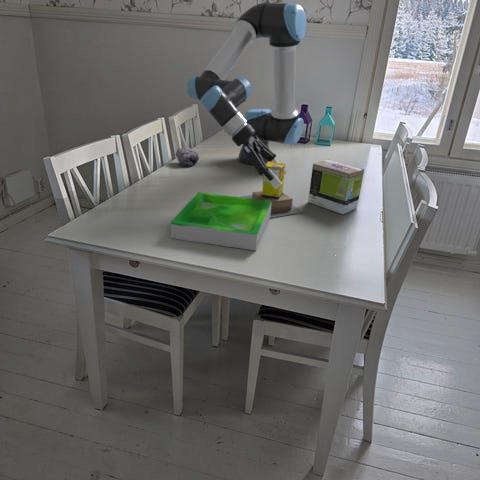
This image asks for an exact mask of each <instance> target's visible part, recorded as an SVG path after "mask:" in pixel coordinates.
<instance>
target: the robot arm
mask: <svg viewBox="0 0 480 480" xmlns="http://www.w3.org/2000/svg"><path fill="white" fill-rule="evenodd" d="M232 27H233V28H232V29H233V30H232V32H231V33H230V34H229V35H228V37H227V39H225V41H224V42H223V43H222V46H220V48H219V49H218V51H217V52H216V53H215V55H214V56H213V58H212V59H211V60H210V62H209V63H208V64H207V66H206V67H205V69H203V72H202V73H200V75H199V76H198V75H196V76H191V77H190V78H189V79H188V80H187V83H186V92H187V94H188V96H189V98H190V99H194V100H197V101H200V103H201V104H202V106H203V107H204V108H205V110H206V111H207V112H208V113H209V114H210V116H211V117H213V119H214V120H215V121H216V122H217V124H219V126H220V127H221V128H222V129H223V132H224V133H226V134H227V135H228V136H229V137H231V140H232V141H233V143H234V144H235V145H236V146H237V147H241V148H240V150H239V153H238V161H239V162H240V163H242V164H245V165H248V166H249V165H250V166H253V167H254V168H255V170H256V172H257V173H258V175H259V176H263V177H264V176H265V178H266V179H267V180H268V181H269V182H270V183H271V185H272V186H273V187H274V188H275V189H277V188H278V187H280V186H281V185H282V183H281V182H280V180H279V179H278V178H277V177H276V176H275V174H274V173H273V172H272V171H271V170H270V168H269V169H268V168H267V166H266V164H267V163H268V162H269V161H270V162H277V163H280V162H279V161H278V159H276V157H277V154H275V153H274V152H273V151H272V150H271V149H270V146H269V142H272V143H273V142H274V143H277V144H278V143H279V144H283V145H285V146H286V145H290V146H294V145H296V144H297V142H299V140H300V138H301V136H302V134H303V131H304V125H305V121H304V119H303V118H302V117H299V113H300V112H299V110H298V109H297V108H296V77H297V74H296V73H297V72H296V71H297V69H296V67H297V65H296V64H297V60H296V59H297V58H296V57H297V48H298V47H299V45H300V44H301V40H303V39H304V38H305V36H306V33H307V32H306V31H307V15H306V13H305V9H304V8H303V6H302V5H300V4H298V3H297V4H296V3H295V4H294V3H291V2H260V3H257V4H255V5H253V6H251V7H250V8H249V9H247V10H246V11H244V12H243V13H242V14H241V15H240V17H238V19H237V20H236V22H234V24H233V26H232ZM259 38H266V39H269V40H268V41H269V46H270V47H271V49H273V84H274V86H273V87H274V93H273V95H274V99H273V100H274V101H273V102H274V108H273V110H272V109H270V108H253V109H249V110H246V111H245V113H244V115H243V114H242V113H241V111H239V110H238V107H239V106H240V105H242V104H243V103H244V102H246V101H247V99H248V98H249V97H250V96H251V94H252V86H251V83H250V81H248V80H247V79H246V78H245V77H241V76H239V77H236V78H234V79H232V80H227V79H226V78H227V77H228V75H229V74H230V72H231V71H232V69H233V68H234V66H235V65H236V64H237V62H238V61H239V60H240V58H241V57H242V55H243V53H245V51H246V49H247V48H248V46H250V45H252V44H254V43H255V41H256V40H257V39H259ZM286 174H287V171H286V170H285V172H284V176H285V175H286Z"/></svg>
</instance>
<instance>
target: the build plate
mask: <svg viewBox="0 0 480 480" xmlns="http://www.w3.org/2000/svg"><path fill="white" fill-rule="evenodd" d="M240 197H241V198H249V199H257V200H265V201H272V204H271V216H270V218H269V220H270V219H277V218H282V217H287V216H294V215H300V214H304V211H303V210H302V209H300V208H299V207H297V206H296V205H294V204H293V198H292V197H291V196H289V195H287V194H285V193H284V192H282V195H281V196H280V198H279V199H276V198H269V197H262V190H261V191H254V192H252V193H251V194H249V195H242V196H240Z"/></svg>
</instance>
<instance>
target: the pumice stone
mask: <svg viewBox="0 0 480 480" xmlns="http://www.w3.org/2000/svg"><path fill="white" fill-rule="evenodd" d="M175 156H176V157H177V160H178V163H179V164H180V165H181V166H184V167H188V168H189V167H190V168H191V167H193V165H195V164H197V163H198V162H199V159H200V156H199V153H198V152H197V151H196V150H195V149H193V148H190V147H188V146H185V147H180V148H178V149H177V150H176V152H175Z"/></svg>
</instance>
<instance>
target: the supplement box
mask: <svg viewBox="0 0 480 480" xmlns="http://www.w3.org/2000/svg"><path fill="white" fill-rule="evenodd" d="M266 166H267V168H268V169H269V168H270V170H271V171H272V172H273V173H274V174H275V176H276V177H277V178H278V179H279V180H280V182H281V183H282V185H281V186H280V187H278V188H277V189H275V188H274V187H273V186H272V185H271V183H270V182H269V181H268V180H267V179H266V178H265V176H264V175H263V179H262V190H261V191H262V197H269V198H276V199H279V198H280V196H281V195H282V192H283V190H284V180H285V175H284V172H285V171H286V163H285V162H284V163H283V162H279V163H277V162H270V161H269V162H268V163H267V164H266ZM283 193H284V192H283Z"/></svg>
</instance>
